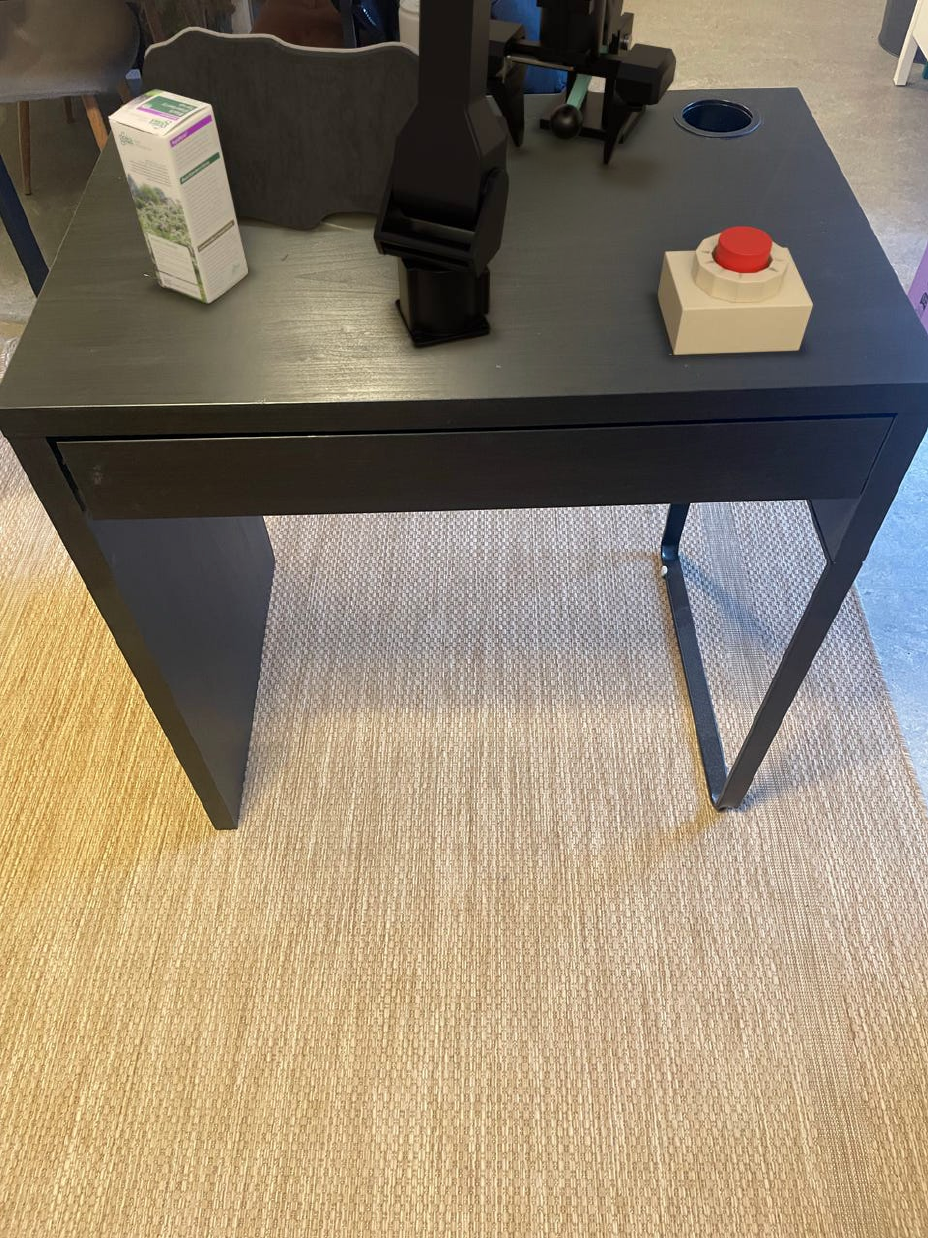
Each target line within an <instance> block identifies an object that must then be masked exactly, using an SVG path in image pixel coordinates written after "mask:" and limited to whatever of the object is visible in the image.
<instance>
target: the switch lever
mask: <svg viewBox="0 0 928 1238" xmlns="http://www.w3.org/2000/svg"><path fill="white" fill-rule="evenodd" d="M608 48H609V45H608V46H604V45H602V50H601V53H607V54H608ZM592 79H593V76H589V75H583V74H578V76H577V79H576V81H575V84H574V86H573V89H572V91H571V93H570V96H569V98H568V101H567V103H566V104H563V105H560V106H558V107H557V108H556V109H555V110H554V111H553V113H552V114H551V117H550V123H549V124H550V130H549V131H550V132H551V134H552V136H554V138H555V139H557V140H558V141H561V142H570V141H572V140H574V139H576V137H578V136H577V135H578V134H579V133H580V131H581V129H582V124H583V119H582V115H581V112H580V111H579V108H580V106H581V103H582V101H583V98H584V96H585V94H586V91H587V89H588V90H589V86H590V84H591V81H592Z"/></svg>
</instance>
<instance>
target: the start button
mask: <svg viewBox="0 0 928 1238" xmlns="http://www.w3.org/2000/svg"><path fill="white" fill-rule="evenodd" d="M720 233H721V234H720V236H719V240H718V244H717V249H716V254H715V262H716V263H717V264H718V265H720V266H721V267H722V268H724V269H726V270H730V271H734V272H738V273H757V272H759V271H762V270H764V269H765V268H766V266H767V263H768V260H769V256H770V252H771V248H772V241H773V239H772V238H771V236H770V235H769V234H768V233H766V232H765V231H763V230H761V229H758V228H755V227H751V226H740V225H739V226H732V227H729V228H726V229H724V230H723V231H722V232H720Z"/></svg>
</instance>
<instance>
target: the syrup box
mask: <svg viewBox="0 0 928 1238" xmlns="http://www.w3.org/2000/svg"><path fill="white" fill-rule="evenodd" d="M108 122H109V125H110V128H111V131H112V134H113V137H114V142H115V144H116V148H117V151H118V154H119V157H120V162H121V164H122V167H123V172H124V174H125V177H126V181H127V184H128V187H129V190H130V193H131V196H132V197H131V198H132V200H133V203H134V207H135V210H136V213H137V216H138V221H139V224H140V226H141V231H142V233H143V235H144V241H145V243H146V246H147V250H148V253H149V256H150V259H151V262H152V265H153V268H154V272H155V276H156V278H157V282H158V285H159V287H162V288H165V289H167V290H169V291H173V292H176V293H178V294H181V295H183V296H185V297H189V298H191V299H194V300H197V301H199V302H202V303H205V304H208V305H209V304H211V303H213V302H214V301H215V300H217V299H218V298H220V297H221V296H222V295H223V294H225V293H226V292H227V291H229V290H230V289H231V288H232V287H234V286H236V284H238V283H239V282H240V281H241V280H242V279H244V278H245V277H246V276H247V275H248V274H249V268H248V264H247V259H246V255H245V250H244V246H243V243H242V238H241V233H240V229H239V225H238V220H237V219H238V218H237V215H235V210H234V206H233V201H232V197H231V192H230V187H229V183H228V178H227V173H226V169H225V164H224V159H223V155H222V150H221V145H220V141H219V136H218V131H217V127H216V123H215V118H214V114H213V110H212V106H211V105H210V104H207V103H203V102H200V101H196V100H193V99H190V98H186V97H183V96H179V95H176V94H172V93H169V92H165V91H162V90H158V89H155V90H152V91H150V92H148V93H145V94H143V95H141V96H139V95H138V97H135V98H133V99H132V100H130V101H129V102H128V103H126V104H124V105H122V106H121V107H120V108H119V109H118V110H116V111H115V112H114V113H112V114H111V115H108Z"/></svg>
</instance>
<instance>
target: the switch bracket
mask: <svg viewBox="0 0 928 1238" xmlns="http://www.w3.org/2000/svg"><path fill="white" fill-rule="evenodd" d="M634 18H635V13H634V12H629V11H624V12H623V13H621V18H620V23H619V28H618V34H617V37H613V36H612V39H611V42H610V43H609V48H608V54H613V55H619V56H626V55H627V53H628V52H629V51H630V50H631V48H632V44H633V43H632V42H633V27H634ZM577 76H578V74H577V73H572V72H567V73H566V87H565V88H564V89H563V91H562V92H561V93H560V94H559V95H558V97H557V98H556V99H555V100H554V101H553V102H552V104H551V105H550V106H549V107H548V109H547V110H546V111H545V112H544V113H543V115H542V116H540V118H539V129H542V130H546V131H551V130H550V124H549V123H550V117H551V114H552V113H553V111H554V110H555V109H556V108H557V107H558V106H560V105H563V104H566V103H567V101H568V98H569V96H570V93H571V91H572V89H573V86H574V84H575V81H576V79H577ZM604 79H605V80H604V89H603V91H604V92H597V91H592V90H589V88H588V89H587V91H586V94H585V96H584V98H583V101H582V103H581V106H580V108H579V111H580V112H581V115H582V119H583V124H582V129H581V131H580V133H579V134H578V135H577V136H576V137H578V136H579V137H582V138H587V139H588V138H589V139H594V140H598V141H603V142H605V137H606V130H607V123H608V116H609V109H610V103H611V101H612V100H613V99H614V97H615V96H616V95H617V92H616V91H615V84H616V80H611V79H606V78H604ZM646 110H647V106H646V107H645V108H644V109H643V111H641V112H633V113H632V114H631V116H630V118H629V120H628V122H627V124H626V126H625V129H624V131H623V133H622V136H621V138H620V140H619V142H618V144H620V145H623V144H624V143H625V142H626V140H627V139H628V138H629V136H630V134H631V133H632V132H633V130H634V129H635V127H636V126H637V124H638V123H639V121H640V120H641V119H642V117H643V115H644V114H645V113H646Z"/></svg>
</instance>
